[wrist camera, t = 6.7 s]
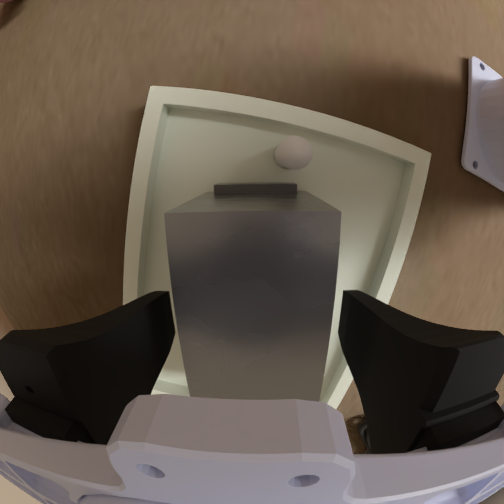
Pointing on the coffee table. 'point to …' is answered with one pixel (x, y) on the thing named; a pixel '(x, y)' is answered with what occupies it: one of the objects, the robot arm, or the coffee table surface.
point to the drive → (254, 289)
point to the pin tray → (271, 170)
